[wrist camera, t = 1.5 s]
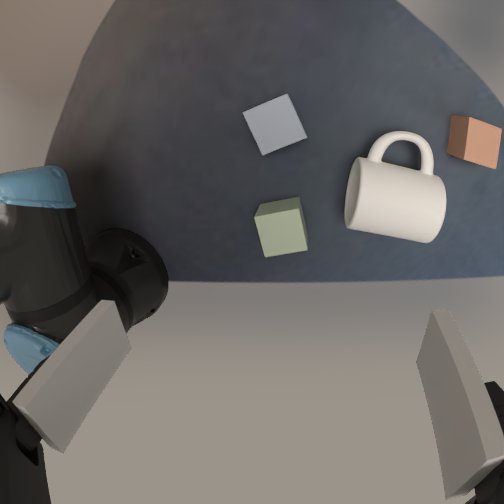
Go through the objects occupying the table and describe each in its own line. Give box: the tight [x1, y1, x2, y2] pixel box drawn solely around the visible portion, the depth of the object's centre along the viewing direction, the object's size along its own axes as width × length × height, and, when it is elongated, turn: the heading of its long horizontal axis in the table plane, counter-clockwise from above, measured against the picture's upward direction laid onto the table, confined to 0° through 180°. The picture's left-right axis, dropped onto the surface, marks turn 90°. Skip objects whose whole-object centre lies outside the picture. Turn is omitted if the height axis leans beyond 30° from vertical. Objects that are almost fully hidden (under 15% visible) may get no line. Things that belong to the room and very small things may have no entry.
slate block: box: [243, 94, 307, 156], centre depth 32 cm, size 5×5×5 cm
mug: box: [344, 131, 446, 243], centre depth 31 cm, size 12×10×8 cm
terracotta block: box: [447, 115, 502, 169], centre depth 29 cm, size 5×5×5 cm
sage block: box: [254, 197, 308, 257], centre depth 37 cm, size 5×5×5 cm
